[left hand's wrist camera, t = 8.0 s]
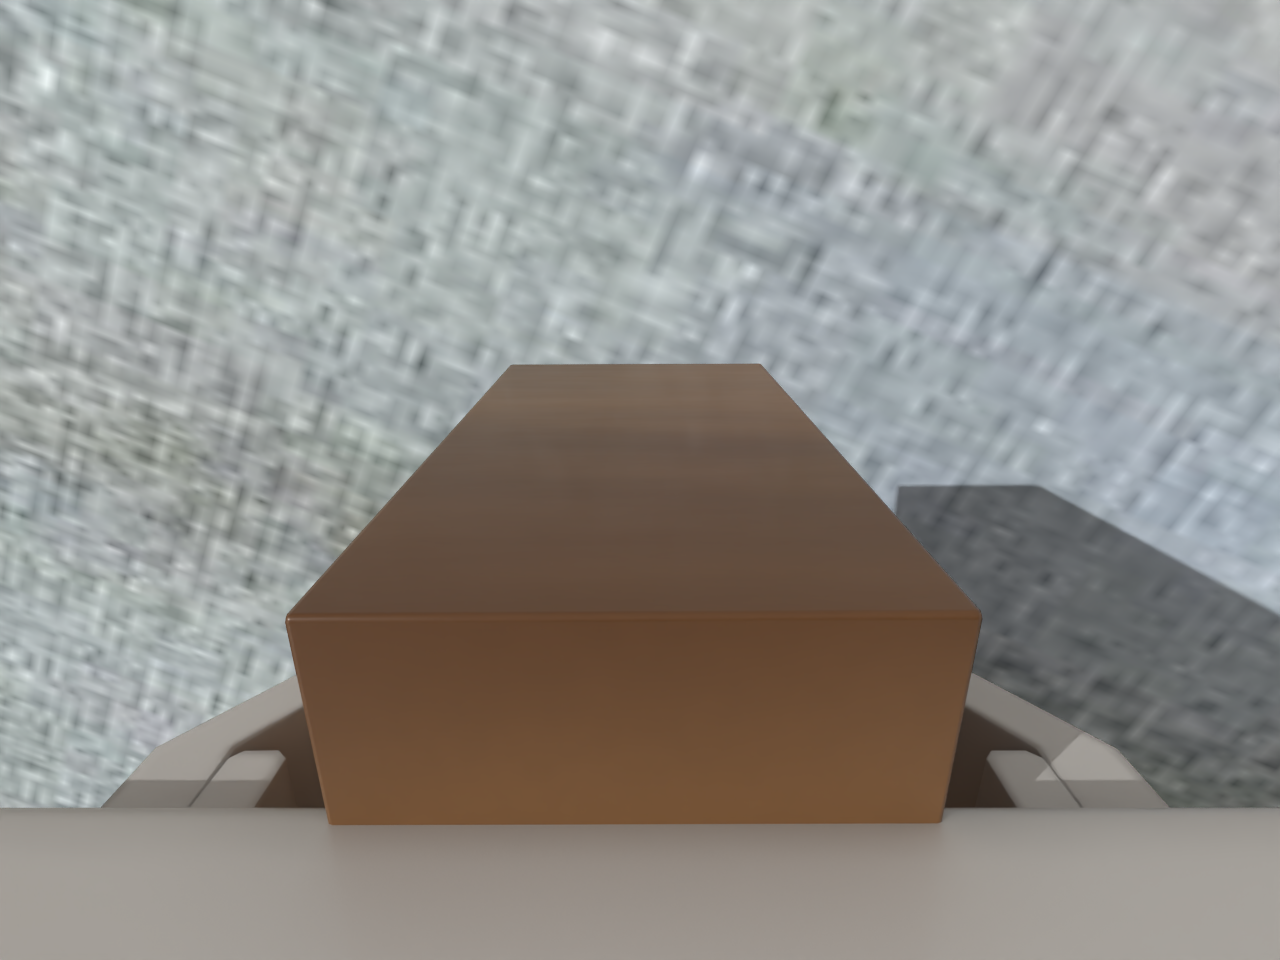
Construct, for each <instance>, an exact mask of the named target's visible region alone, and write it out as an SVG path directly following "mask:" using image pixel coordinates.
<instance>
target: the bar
mask: <svg viewBox="0 0 1280 960" xmlns="http://www.w3.org/2000/svg"><path fill="white" fill-rule="evenodd" d="M981 623H982V614H981V611H980V610H979V609H978V608H977V606H976V605H975V604H974V603H973V602H972V601H971V600H970V599H969V597H968V596H967V595H966V594H965V593H964V592H963V591H962V590H961V588H960V587H959V586H958V585H957V584H956V583H955V582H954V581H953V579H952V578H951V577H950V576H949V575H948V574H947V573H946V572H945V571H944V569H943V568H942V567H941V566H940V565H939V564H938V563H937V562H936V560H935V559H934V558H933V557H932V556H931V555H930V554H929V553H928V551H927V550H926V549H925V548H924V547H923V546H922V545H921V544H920V542H919V541H918V540H917V539H916V538H915V537H914V536H913V535H912V533H911V532H910V531H909V530H908V529H907V528H906V527H905V526H904V524H903V523H902V522H901V521H900V520H899V519H898V518H897V517H896V515H895V514H894V513H893V512H892V511H891V510H890V509H889V508H888V506H887V505H886V504H885V503H884V502H883V501H882V500H881V499H880V497H879V496H878V495H877V494H876V493H875V492H874V491H873V490H872V488H871V487H870V486H869V485H868V484H867V483H866V482H865V481H864V480H863V478H862V477H861V476H860V475H859V474H858V473H857V472H856V471H855V469H854V468H853V467H852V466H851V465H850V464H849V463H848V462H847V460H846V459H845V458H844V457H843V456H842V455H841V454H840V453H839V451H838V450H837V449H836V448H835V447H834V446H833V445H832V444H831V442H830V441H829V440H828V439H827V438H826V437H825V436H824V435H823V433H822V432H821V431H820V430H819V429H818V428H817V427H816V426H815V424H814V423H813V422H812V421H811V420H810V419H809V418H808V417H807V415H806V414H805V413H804V412H803V411H802V410H801V409H800V408H799V406H798V405H797V404H796V403H795V402H794V401H793V400H792V399H791V397H790V396H789V395H788V394H787V393H786V392H785V391H784V390H783V389H782V387H781V386H780V385H779V384H778V383H777V382H776V381H775V380H774V378H773V377H772V376H771V375H770V374H769V373H768V372H767V371H766V369H765V368H764V367H763V366H762V365H761V364H564V365H511V366H510V367H509V368H508V369H507V370H506V371H505V372H504V373H503V374H502V375H501V377H500V378H499V379H498V380H497V381H496V382H495V383H494V384H493V386H492V387H491V388H490V389H489V390H488V391H487V392H486V393H485V394H484V396H483V397H482V398H481V399H480V400H479V401H478V402H477V403H476V404H475V406H474V407H473V408H472V409H471V410H470V411H469V412H468V413H467V414H466V416H465V417H464V418H463V419H462V420H461V421H460V422H459V423H458V424H457V426H456V427H455V428H454V429H453V430H452V431H451V432H450V433H449V435H448V436H447V437H446V438H445V439H444V440H443V441H442V442H441V443H440V445H439V446H438V447H437V448H436V449H435V450H434V451H433V452H432V453H431V455H430V456H429V457H428V458H427V459H426V460H425V461H424V462H423V463H422V465H421V466H420V467H419V468H418V469H417V470H416V471H415V472H414V474H413V475H412V476H411V477H410V478H409V479H408V480H407V481H406V482H405V484H404V485H403V486H402V487H401V488H400V489H399V490H398V491H397V492H396V494H395V495H394V496H393V497H392V498H391V499H390V500H389V501H388V502H387V504H386V505H385V506H384V507H383V508H382V509H381V510H380V511H379V512H378V514H377V515H376V516H375V517H374V518H373V519H372V520H371V521H370V523H369V524H368V525H367V526H366V527H365V528H364V529H363V530H362V531H361V533H360V534H359V535H358V536H357V537H356V538H355V539H354V540H353V541H352V543H351V544H350V545H349V546H348V547H347V548H346V549H345V550H344V551H343V553H342V554H341V555H340V556H339V557H338V558H337V559H336V560H335V561H334V563H333V564H332V565H331V566H330V567H329V568H328V569H327V570H326V572H325V573H324V574H323V575H322V576H321V577H320V578H319V579H318V580H317V582H316V583H315V584H314V585H313V586H312V587H311V588H310V589H309V590H308V592H307V593H306V594H305V595H304V596H303V597H302V598H301V599H300V600H299V602H298V603H297V604H296V605H295V606H294V607H293V608H292V609H291V611H290V612H289V613H288V614H287V616H286V621H285V624H286V628H287V633H288V638H289V642H290V647H291V651H292V656H293V661H294V665H295V670H296V675H297V679H298V684H299V689H300V693H301V698H302V703H303V707H304V712H305V716H306V721H307V726H308V730H309V735H310V740H311V744H312V749H313V754H314V758H315V763H316V767H317V772H318V777H319V781H320V786H321V791H322V795H323V800H324V805H325V809H326V814H327V819H328V823H329V824H331V825H589V824H925V823H940V822H942V817H943V812H944V807H945V802H946V797H947V792H948V787H949V782H950V777H951V772H952V767H953V762H954V757H955V752H956V747H957V742H958V737H959V732H960V727H961V722H962V717H963V712H964V708H965V703H966V698H967V693H968V688H969V683H970V678H971V673H972V668H973V663H974V658H975V653H976V648H977V643H978V638H979V633H980V628H981Z"/></svg>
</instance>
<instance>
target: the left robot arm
mask: <svg viewBox="0 0 1280 960" xmlns="http://www.w3.org/2000/svg"><path fill="white" fill-rule="evenodd" d="M0 960H1280V808H1170V807H1169V806H1168V805H1167V804H1166V803H1165V802H1164V800H1163V799H1162V798H1161V797H1160V796H1159V795H1158V794H1157V793H1156V792H1155V790H1154V789H1153V788H1152V787H1151V786H1150V785H1149V784H1148V783H1147V782H1146V780H1145V779H1144V778H1143V777H1142V776H1141V775H1140V774H1139V773H1138V771H1137V770H1136V769H1135V768H1134V767H1133V766H1132V765H1131V764H1130V763H1129V761H1128V760H1127V759H1126V758H1125V757H1124V756H1123V755H1122V754H1121V753H1120V751H1119V750H1118V749H1117V748H1115V747H1113V746H1111V745H1109V744H1107V743H1105V742H1103V741H1101V740H1099V739H1098V738H1096V737H1094V736H1092V735H1090V734H1088V733H1086V732H1084V731H1082V730H1080V729H1078V728H1077V727H1075V726H1073V725H1071V724H1069V723H1067V722H1065V721H1063V720H1061V719H1059V718H1058V717H1056V716H1054V715H1052V714H1050V713H1048V712H1046V711H1044V710H1042V709H1040V708H1039V707H1037V706H1035V705H1033V704H1031V703H1029V702H1027V701H1025V700H1023V699H1021V698H1020V697H1018V696H1016V695H1014V694H1012V693H1010V692H1008V691H1006V690H1004V689H1002V688H1000V687H999V686H997V685H995V684H993V683H991V682H989V681H987V680H985V679H983V678H981V677H980V676H978V675H976V674H974V673H971V678H970V683H969V688H968V693H967V698H966V703H965V708H964V712H963V717H962V722H961V727H960V732H959V737H958V742H957V747H956V752H955V757H954V762H953V767H952V772H951V777H950V782H949V787H948V792H947V797H946V802H945V807H944V812H943V817H942V822H940V823H925V824H589V825H331V824H329V823H328V819H327V814H326V809H325V805H324V800H323V795H322V791H321V786H320V781H319V777H318V772H317V767H316V763H315V758H314V754H313V749H312V744H311V740H310V735H309V730H308V726H307V721H306V716H305V712H304V707H303V703H302V698H301V693H300V689H299V684H298V679H297V675H295V676H293V677H291V678H289V679H287V680H285V681H284V682H282V683H280V684H278V685H276V686H274V687H272V688H270V689H268V690H266V691H264V692H262V693H260V694H259V695H257V696H255V697H253V698H251V699H249V700H247V701H245V702H243V703H241V704H239V705H237V706H235V707H233V708H232V709H230V710H228V711H226V712H224V713H222V714H220V715H218V716H216V717H214V718H212V719H210V720H208V721H206V722H205V723H203V724H201V725H199V726H197V727H195V728H193V729H191V730H189V731H187V732H185V733H183V734H181V735H179V736H178V737H176V738H174V739H172V740H170V741H168V742H166V743H164V744H162V745H160V746H158V747H156V748H155V749H154V750H153V751H152V752H151V754H150V755H149V756H148V757H147V758H146V759H145V760H144V761H143V762H142V763H141V764H140V765H139V767H138V768H137V769H136V770H135V771H134V772H133V773H132V774H131V775H130V776H129V777H128V779H127V780H126V781H125V782H124V783H123V784H122V785H121V786H120V787H119V788H118V789H117V790H116V792H115V793H114V794H113V795H112V796H111V797H110V798H109V799H108V800H107V801H106V802H105V803H104V805H103V806H102V807H101V808H0Z"/></svg>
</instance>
